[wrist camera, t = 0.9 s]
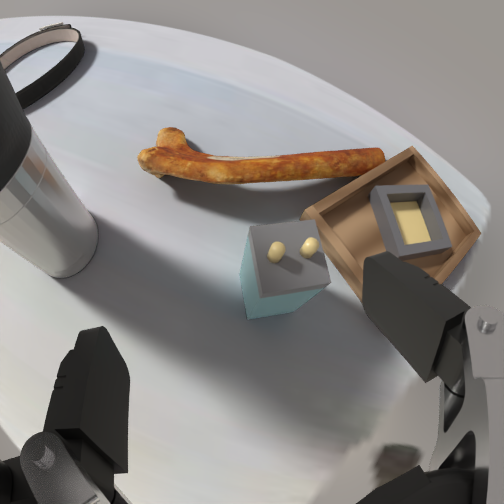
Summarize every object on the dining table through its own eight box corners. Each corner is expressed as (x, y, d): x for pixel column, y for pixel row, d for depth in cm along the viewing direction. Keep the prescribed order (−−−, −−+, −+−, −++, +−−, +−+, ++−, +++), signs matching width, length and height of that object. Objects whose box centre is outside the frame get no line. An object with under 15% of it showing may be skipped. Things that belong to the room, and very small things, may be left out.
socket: (389, 263, 35) (399, 256, 33) (367, 195, 38) (375, 185, 36) (441, 253, 37) (452, 246, 34) (419, 193, 40) (428, 184, 38)
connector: (247, 319, 32) (265, 288, 19) (239, 274, 33) (252, 216, 21) (293, 311, 33) (338, 276, 20) (284, 268, 34) (320, 210, 22)
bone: (373, 149, 43) (410, 135, 34) (373, 202, 44) (411, 200, 34) (151, 131, 39) (135, 107, 29) (147, 190, 40) (128, 182, 30)
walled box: (299, 219, 37) (304, 209, 34) (405, 154, 43) (412, 145, 41) (385, 335, 32) (396, 333, 30) (471, 239, 39) (481, 233, 37)
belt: (105, 28, 51) (102, 12, 47) (51, 109, 41) (42, 90, 36) (16, 50, 49) (10, 38, 44) (-42, 131, 38) (-52, 118, 33)
